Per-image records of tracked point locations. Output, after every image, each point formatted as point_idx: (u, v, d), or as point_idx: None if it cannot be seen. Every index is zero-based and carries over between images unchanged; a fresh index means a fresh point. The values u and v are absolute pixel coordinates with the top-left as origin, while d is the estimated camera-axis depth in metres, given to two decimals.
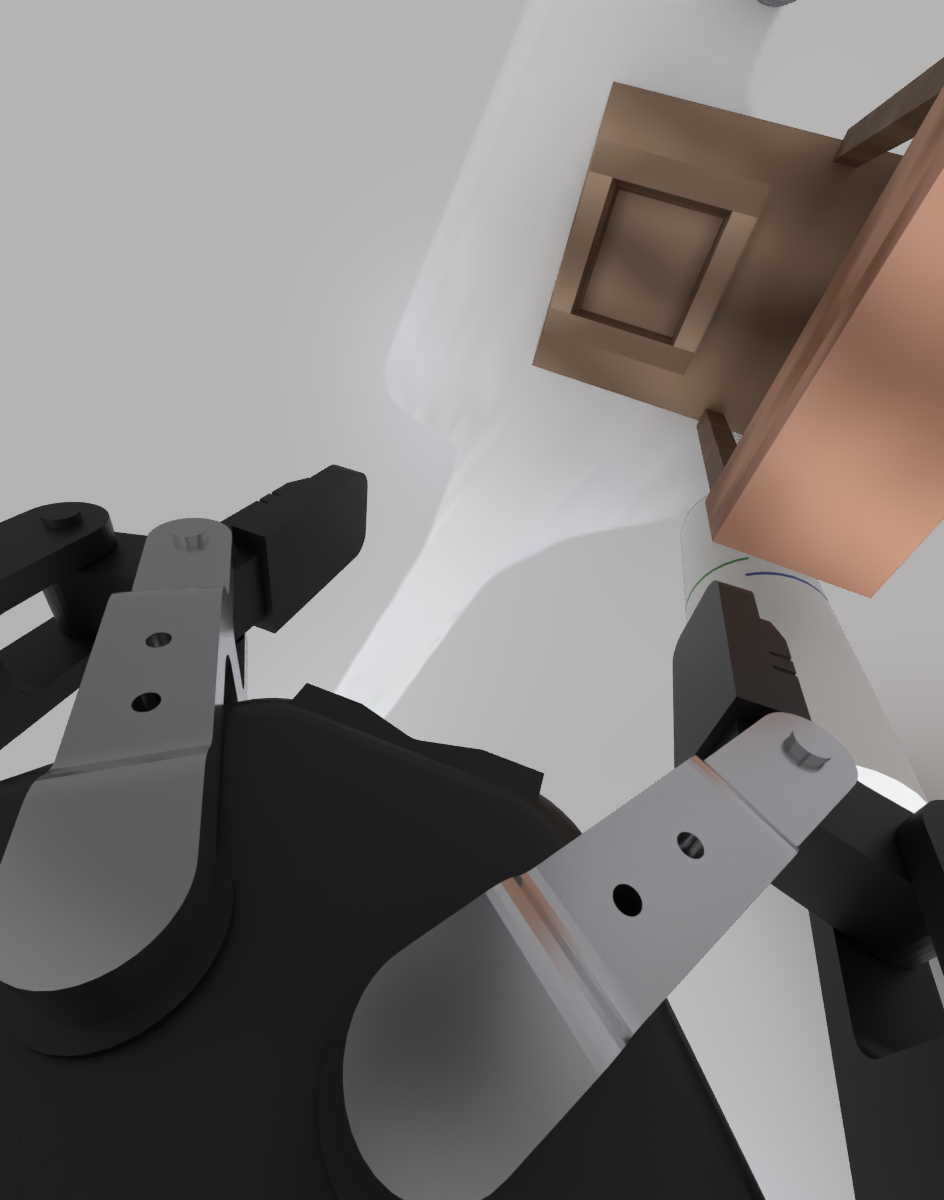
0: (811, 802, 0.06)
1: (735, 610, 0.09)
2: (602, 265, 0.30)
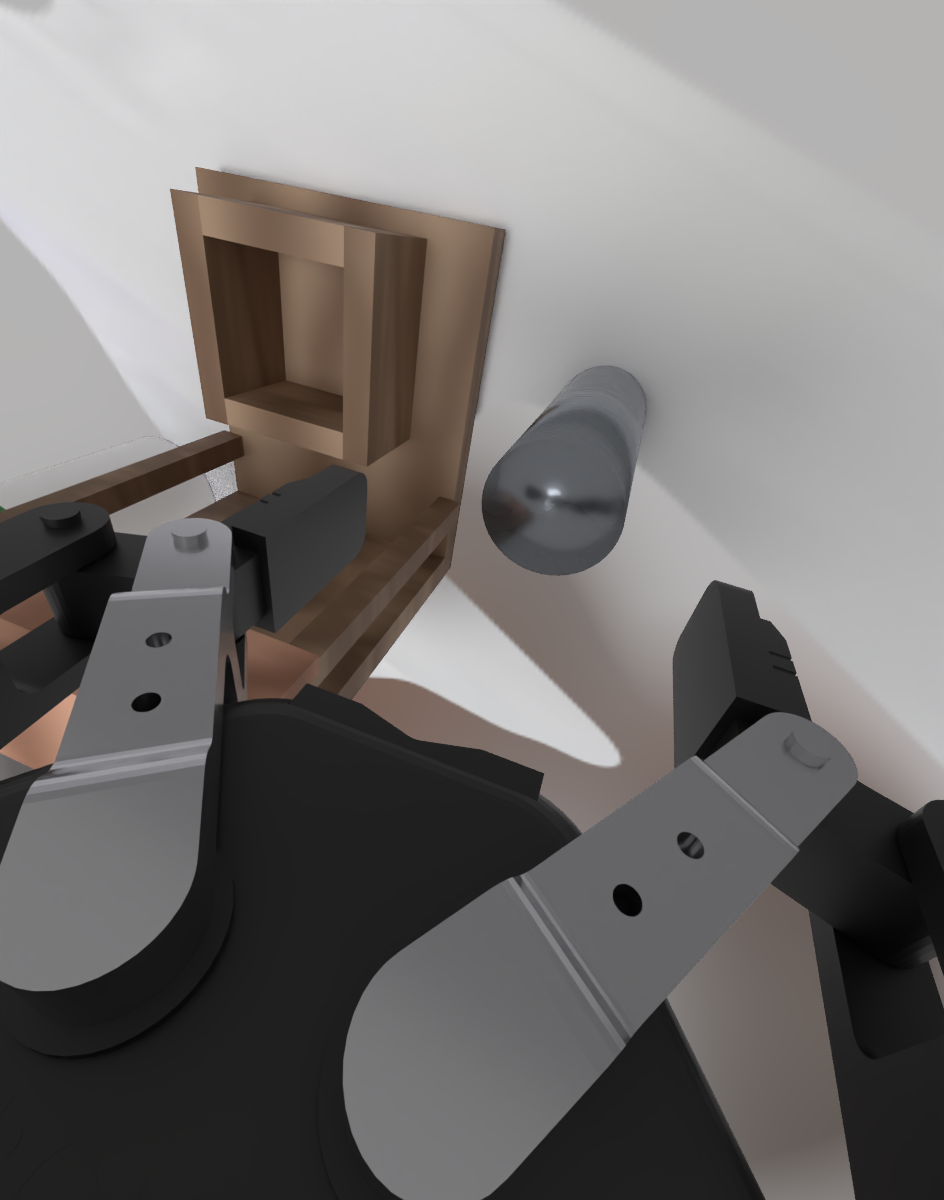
0: (811, 802, 0.06)
1: (735, 610, 0.09)
2: (325, 263, 0.22)
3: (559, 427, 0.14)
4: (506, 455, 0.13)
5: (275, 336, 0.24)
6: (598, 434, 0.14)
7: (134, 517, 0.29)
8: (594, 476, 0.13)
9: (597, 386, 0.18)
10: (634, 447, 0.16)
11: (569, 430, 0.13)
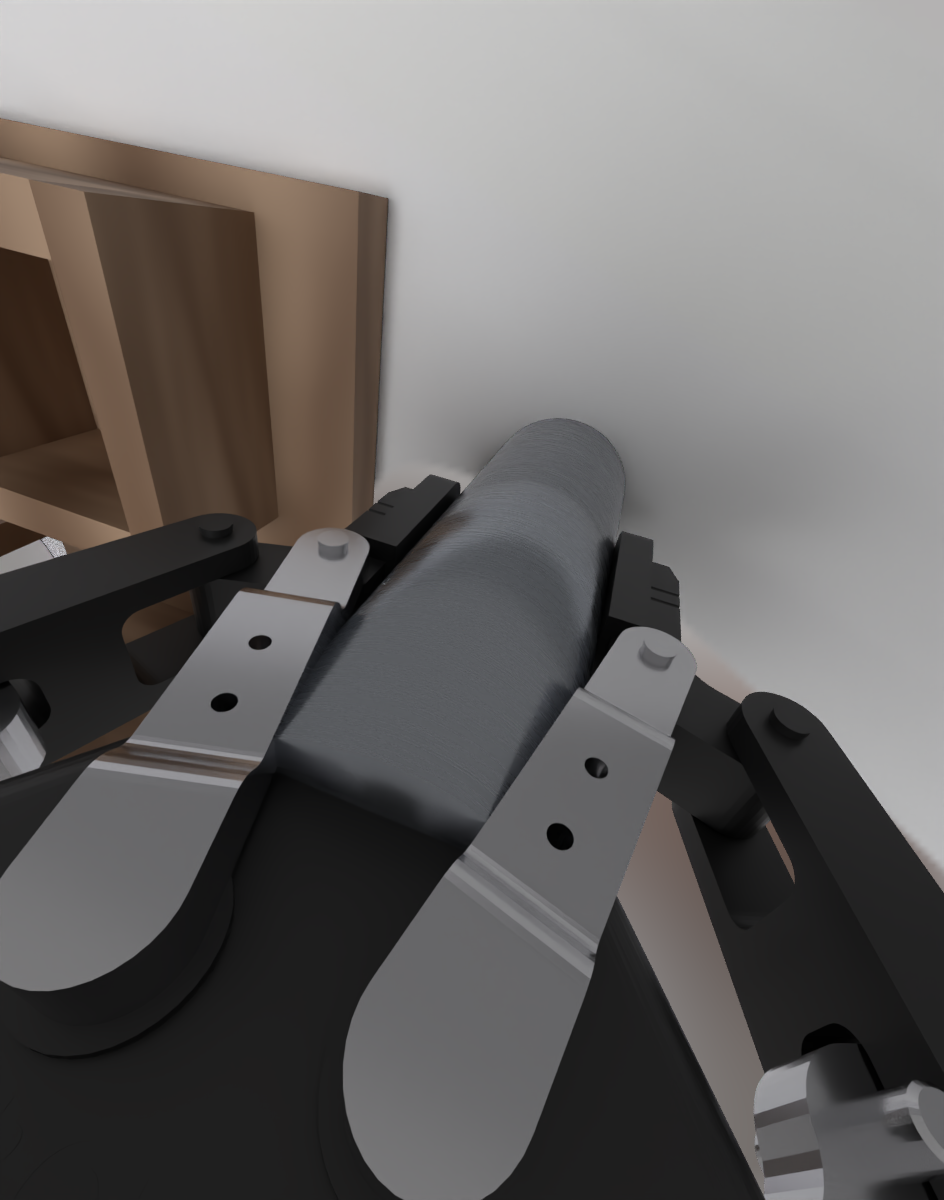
0: (646, 688, 0.07)
1: (631, 553, 0.10)
2: None
3: (388, 659, 0.05)
4: None
5: (60, 367, 0.16)
6: (488, 668, 0.06)
7: None
8: (457, 835, 0.05)
9: (532, 477, 0.10)
10: (592, 622, 0.08)
11: (404, 680, 0.05)
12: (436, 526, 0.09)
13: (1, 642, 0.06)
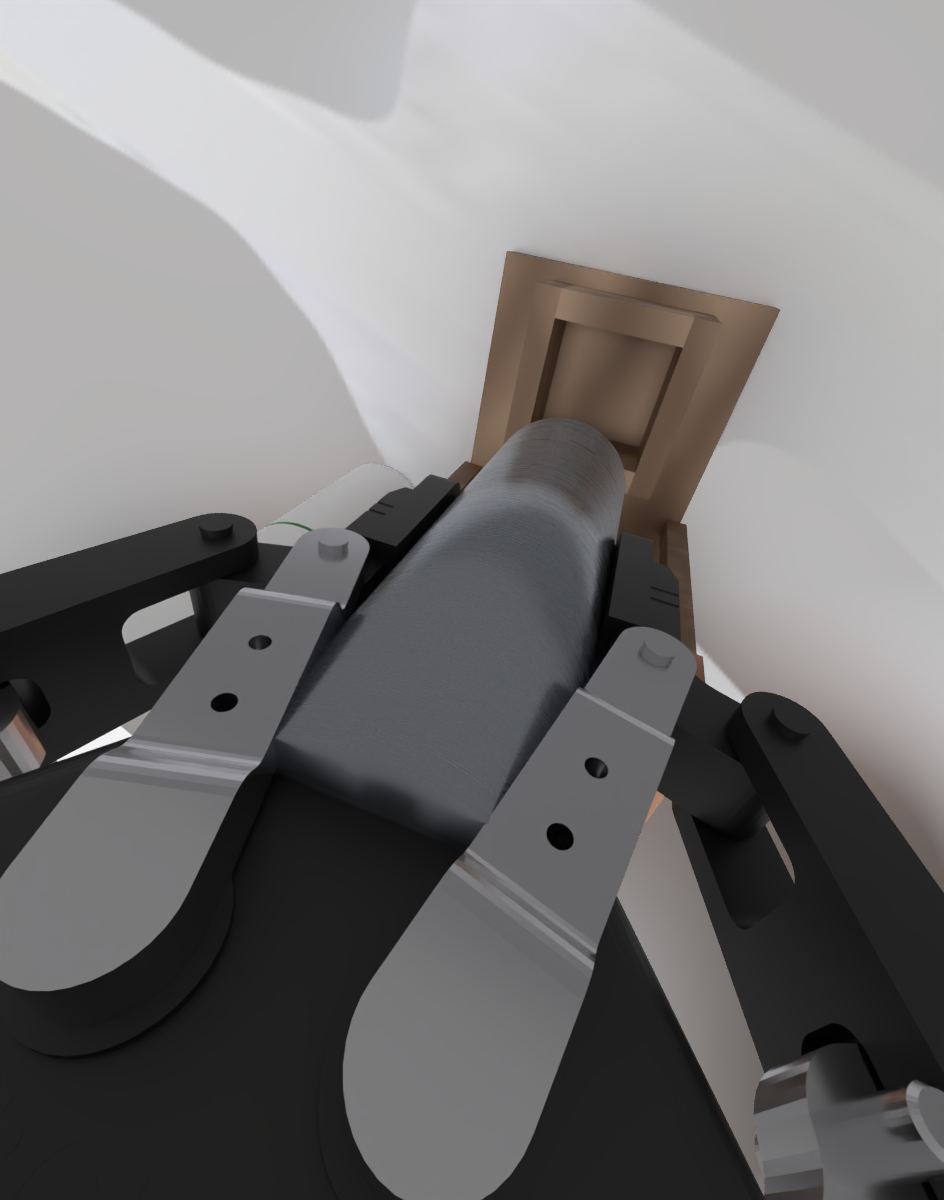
0: (646, 688, 0.07)
1: (631, 553, 0.10)
2: (611, 330, 0.27)
3: (388, 658, 0.05)
4: None
5: (549, 387, 0.29)
6: (488, 667, 0.06)
7: None
8: (457, 835, 0.05)
9: (532, 476, 0.10)
10: (592, 621, 0.08)
11: (404, 680, 0.05)
12: (436, 525, 0.09)
13: (1, 642, 0.06)
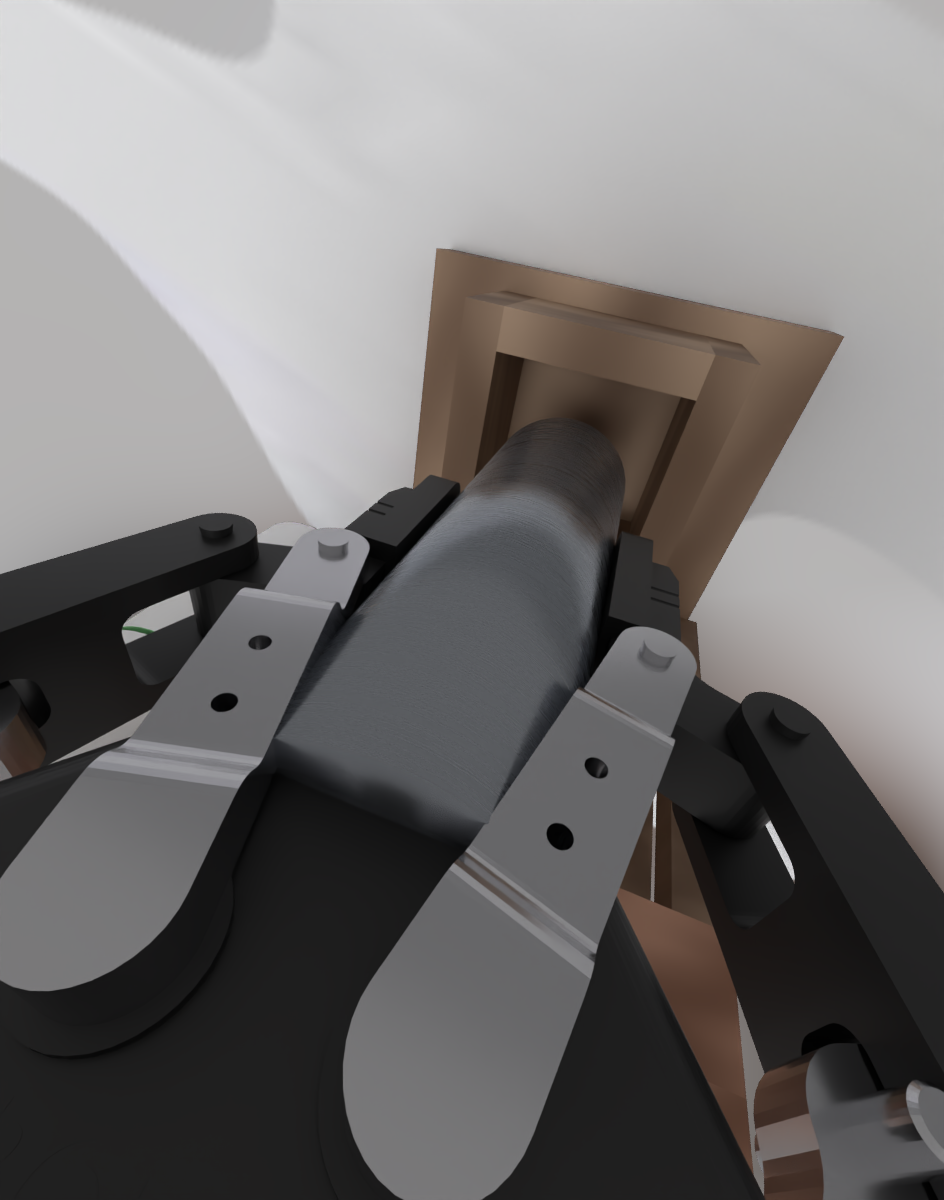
0: (646, 688, 0.07)
1: (631, 553, 0.10)
2: None
3: (388, 658, 0.05)
4: None
5: (504, 440, 0.20)
6: (488, 667, 0.06)
7: None
8: (457, 835, 0.05)
9: (532, 476, 0.10)
10: (592, 621, 0.08)
11: (404, 679, 0.05)
12: (436, 525, 0.09)
13: (1, 641, 0.06)
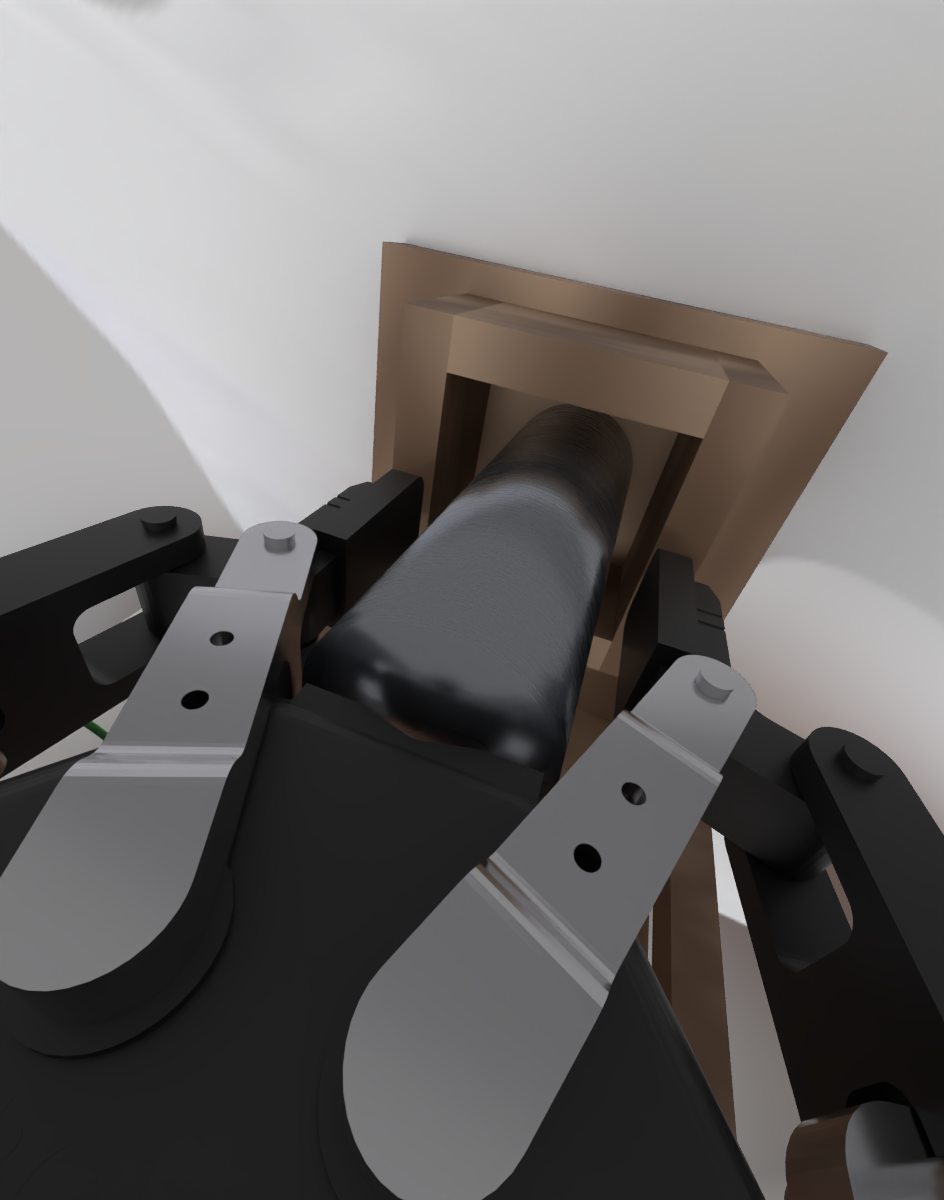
0: (708, 725, 0.07)
1: (672, 573, 0.10)
2: None
3: (439, 574, 0.07)
4: (327, 637, 0.07)
5: (471, 471, 0.17)
6: (517, 584, 0.07)
7: None
8: (495, 698, 0.06)
9: (549, 450, 0.12)
10: (600, 567, 0.10)
11: (452, 587, 0.07)
12: (467, 489, 0.11)
13: None
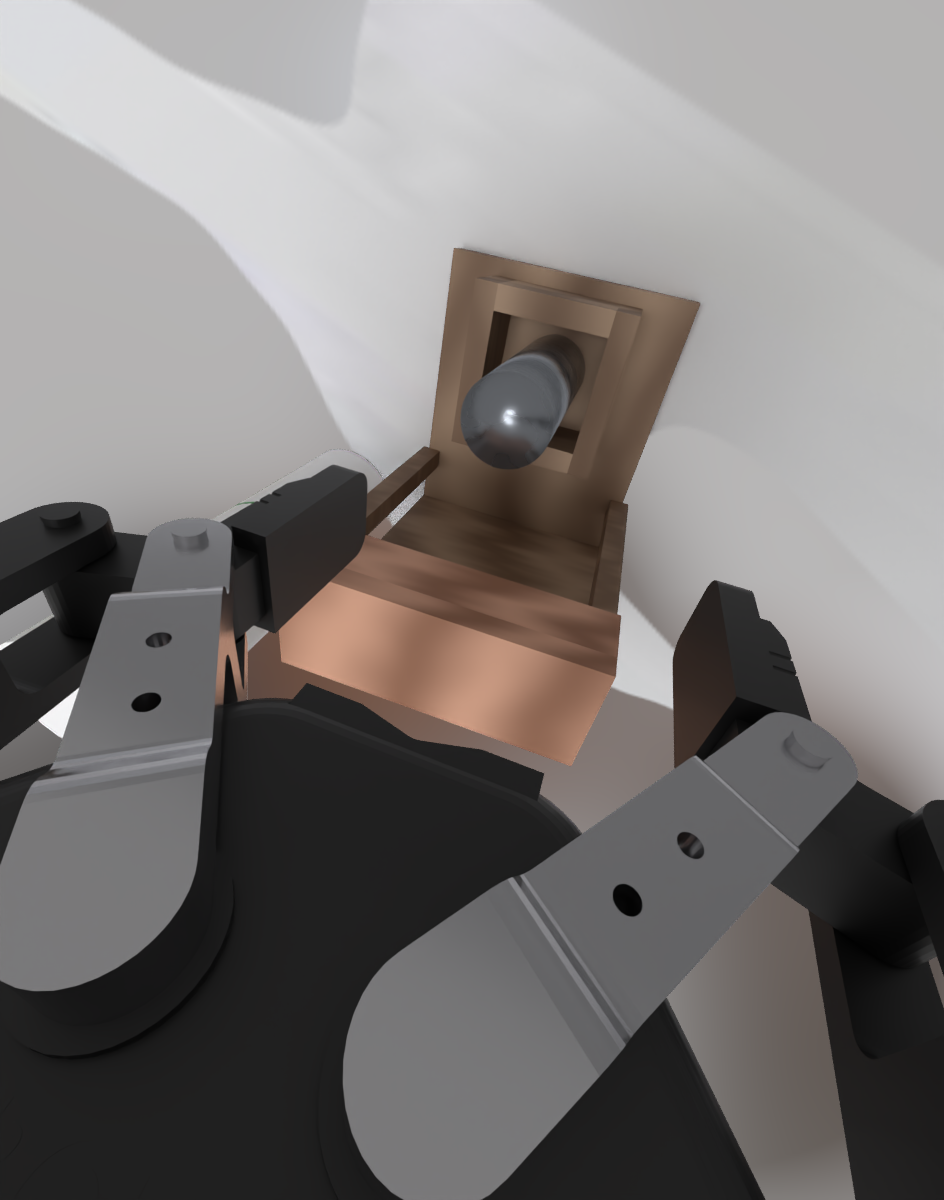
0: (811, 802, 0.06)
1: (735, 610, 0.09)
2: None
3: (510, 366, 0.21)
4: (476, 383, 0.20)
5: None
6: (536, 371, 0.21)
7: None
8: (532, 396, 0.20)
9: (543, 346, 0.25)
10: (566, 386, 0.23)
11: (516, 367, 0.20)
12: None
13: None
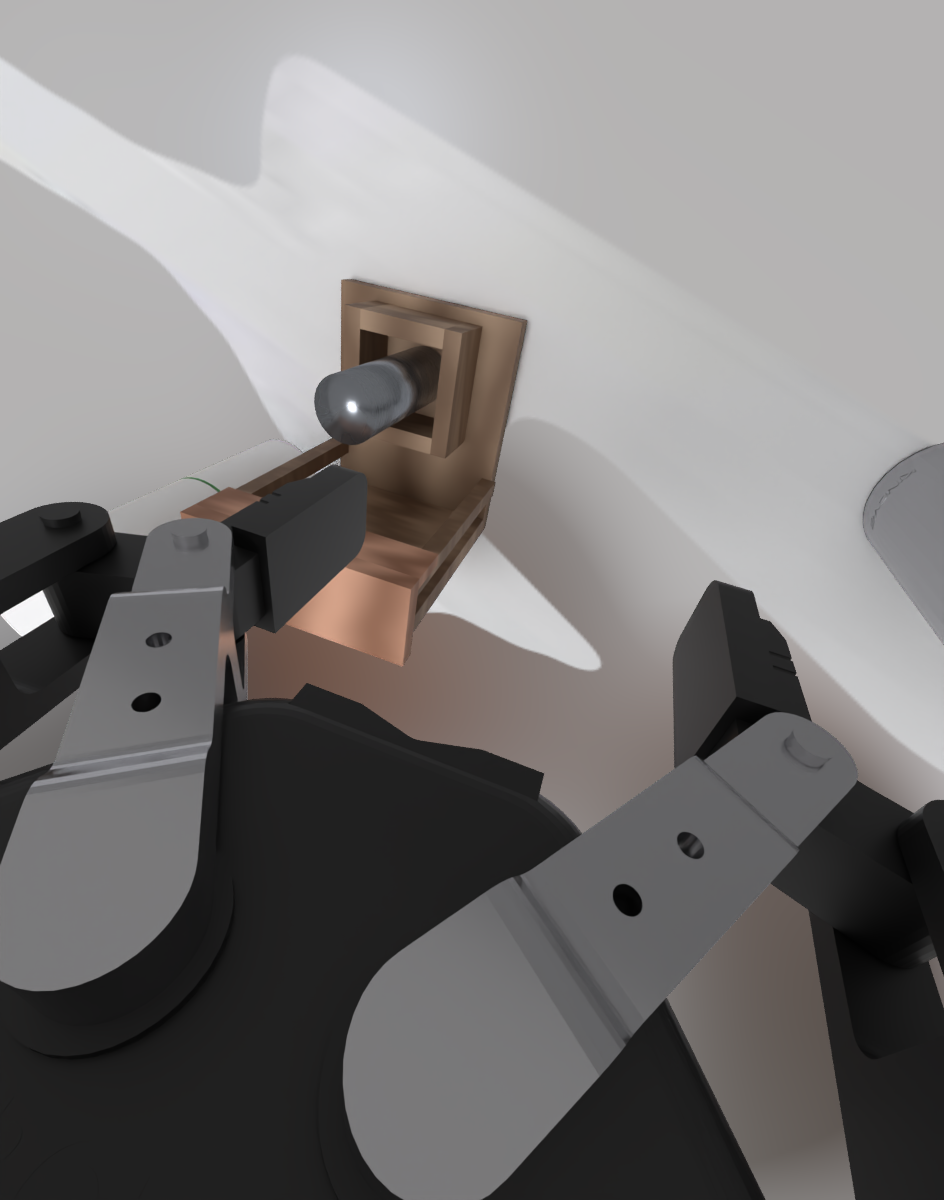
0: (811, 802, 0.06)
1: (735, 610, 0.09)
2: None
3: (348, 369, 0.29)
4: (321, 382, 0.28)
5: None
6: (368, 373, 0.29)
7: None
8: (358, 391, 0.28)
9: (397, 355, 0.33)
10: (404, 384, 0.32)
11: (350, 370, 0.29)
12: None
13: None
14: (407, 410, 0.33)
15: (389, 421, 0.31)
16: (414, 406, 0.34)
